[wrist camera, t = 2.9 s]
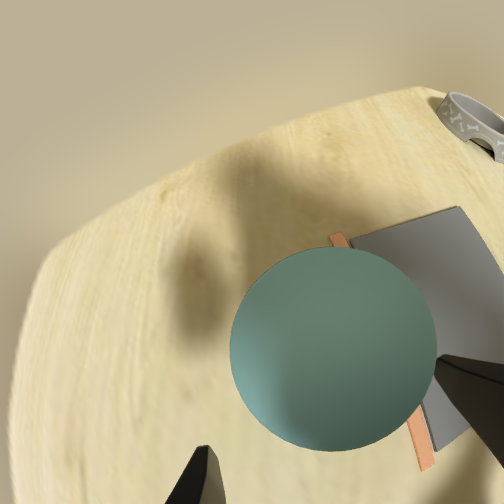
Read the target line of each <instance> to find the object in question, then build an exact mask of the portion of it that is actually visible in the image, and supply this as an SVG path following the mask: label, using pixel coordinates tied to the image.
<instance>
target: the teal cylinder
mask: <svg viewBox="0 0 504 504" xmlns="http://www.w3.org/2000/svg"><path fill="white" fill-rule="evenodd" d="M436 358H437V338H436V330H435V326H434V321H433V318H432V315H431V312H430V310H429V307H428V305H427V303H426V301H425V299H424V297H423V296H422V294H421V293H420V291H419V290H418V288H417V287H416V286H415V284H414V283H413V282H412V281H411V280H410V279H409V278H408V277H407V276H406V275H405V274H404V273H403V272H402V271H401V270H400V269H398V268H397V267H395V266H394V265H393V264H391V263H390V262H388V261H386V260H384V259H383V258H381V257H379V256H376V255H374V254H371V253H369V252H366V251H362V250H359V249H354V248H348V247H320V248H315V249H309V250H306V251H303V252H299V253H297V254H294V255H292V256H290V257H287V258H285V259H284V260H282V261H280V262H279V263H277V264H275V265H274V266H273V267H271V268H270V269H269V270H267V271H266V272H265V273H264V274H263V275H262V276H261V277H260V278H259V279H258V280H257V281H256V282H255V283H254V284H253V286H252V287H251V288H250V289H249V291H248V292H247V294H246V295H245V297H244V299H243V300H242V302H241V304H240V306H239V309H238V311H237V313H236V315H235V319H234V322H233V326H232V330H231V337H230V362H231V369H232V374H233V377H234V381H235V384H236V387H237V389H238V391H239V393H240V395H241V398H242V400H243V401H244V403H245V404H246V406H247V407H248V409H249V410H250V412H251V413H252V414H253V415H254V416H255V417H256V419H257V420H258V421H259V422H260V423H261V424H262V425H263V426H265V427H266V428H267V429H268V430H269V431H271V432H272V433H273V434H275V435H277V436H278V437H280V438H282V439H283V440H285V441H287V442H290V443H292V444H295V445H297V446H300V447H303V448H307V449H312V450H317V451H328V452H333V451H347V450H352V449H357V448H361V447H364V446H367V445H369V444H372V443H375V442H377V441H378V440H380V439H382V438H384V437H386V436H388V435H389V434H391V433H392V432H393V431H395V430H396V429H398V428H399V427H400V426H401V425H402V424H403V423H404V422H405V421H406V420H407V419H408V418H410V416H411V415H412V414H413V413H414V411H415V410H416V409H417V408H418V406H419V405H420V403H421V401H422V400H423V398H424V396H425V395H426V393H427V390H428V388H429V386H430V383H431V381H432V377H433V374H434V370H435V365H436Z"/></svg>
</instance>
